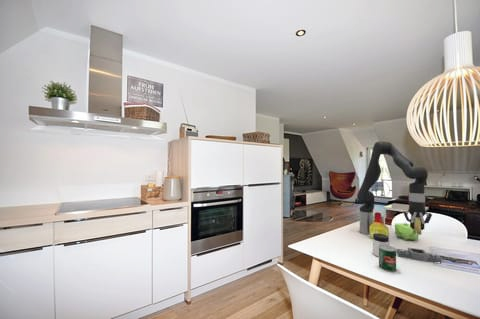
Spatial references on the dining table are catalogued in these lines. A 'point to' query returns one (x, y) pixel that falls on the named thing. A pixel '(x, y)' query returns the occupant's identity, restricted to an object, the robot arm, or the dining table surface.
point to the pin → (417, 226)
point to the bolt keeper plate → (418, 255)
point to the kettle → (405, 231)
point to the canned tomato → (387, 258)
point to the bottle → (378, 226)
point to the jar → (379, 242)
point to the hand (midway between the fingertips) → (417, 229)
